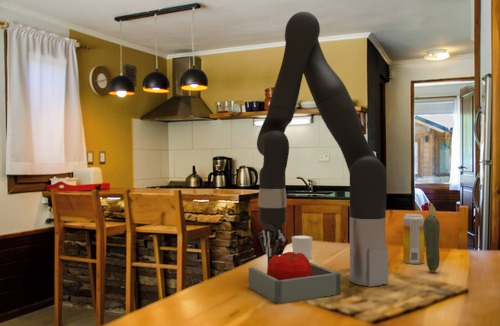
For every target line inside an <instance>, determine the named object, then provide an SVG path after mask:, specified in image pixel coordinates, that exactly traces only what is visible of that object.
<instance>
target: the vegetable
mask: <svg viewBox="0 0 500 326" xmlns="http://www.w3.org/2000/svg"><path fill="white" fill-rule="evenodd" d="M436 215H437V210H436V207H435V206H434V204H433V203H431V202H429V203H428V216H426V218H424V224H423V229H424V244H425V257H426V265H427V268H428V271H430V272H431V273H433V272H434V273H435V272H436V271H438V268H439V267H440V261H441V259H440V256H441V255H440V230H441V229H440V228H441V226H440V221H439V219H438V218H437V217H436Z"/></svg>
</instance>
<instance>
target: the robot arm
mask: <svg viewBox="0 0 500 326" xmlns="http://www.w3.org/2000/svg"><path fill="white" fill-rule="evenodd" d="M320 29H321V26H320V22H319V21H318V18H317V17H316V16H315V15H314V14H312V13H311V12H309V11H299V12H296V13H294V14H293V15H292V16H291V17H290V18H289V19H288V21H287V22H286V26H285V31H284V42H285V44H284V46H285V47H284V52H283V57H282V62H281V65H280V69H279V72H278V75H277V78H276V81H275V84H274V87H273V90H272V94H271V98H270V101H269V105H268V108H267V114H266V116H265V118H264V121H263V123H262V126H261V127H260V130H259V132H258V135H257V139H256V147H257V151H258V153H260V154H261V156H263V163H262V164H263V165H262V167H261V168H260V170H259V179H258V180H259V185H258V186H259V190H258V197H257V198H258V199H257V201H258V203H257V204H258V216H257V217H258V218H257V220H258V223H259V224H261V225H262V226H261V227H262V231H259V232H257V236H258V240H259V242H260V245H261V249H262V251H263V253H265V254H266V256H267V264H268V263H269V261H270V259H271V258H272V257H273V256H274V255H278V256H280V255H282V254H283V253H284V252H285V251H284V250H285V249H286V246H287V245H288V242H289V238H288V237H285V236H284V235H283V233H284V229H283V225H284V224H286V223H287V192H286V191H287V190H286V170H287V165H288V159H289V155H290V143H289V139H288V136H287V135H286V133H285V132H286V129H287V127H288V126H289V124H291V123H292V121H293V118H294V116H295V115H294V114H295V111H296V108H297V104H298V99H299V95H300V92H301V91H300V89H301V87H302V86H301V85H302V81H303V76H304V79H305V82H306V84H307V86H308V90H309V91H310V95H311V96H312V100H313V101H314V103H315V106H316V108H317V111H318V112H319V115H320V117H321V119H322V121H323V122H324V124H325V126H326V127H327V129H328V131H329V132H330V134H331V136H332V137H333V140H335V142H336V143H337V146H338V147H339V148H340V150H341V153H342V156H343V158H344V161H345V164H346V167H347V170H348V173H349V281H350V282H351V283H352V284H355V285H359V286H366V287H368V288H369V287H370V288H372V287H376V286H377V287H378V286H383V284H385V285H388V284H389V249H388V247H386V215H387V213H386V211H387V170H386V167H385V166H384V164H383V163H382V161H380V160H379V159H378V158H377V156H376V154H375V153H374V151H373V149H372V148H371V146H370V144H369V143H368V140H367V138H366V136H365V134H364V131H363V128H362V124H361V120H360V117H359V114H358V112H357V110H356V106H355V104H354V101H353V99H352V97H351V95H350V93H349V91H348V89H347V86H346V85H345V84H344V82H343V81H342V79H341V78H340V76H339V75H338V74H337V73H336V72H335V71H334V70H333V69H332V67H331V65H330V64H329V63H328V62H327V59H326V56H325V55H324V52H323V50H322V47H321V44H320V42H319V37H320V32H321V30H320Z"/></svg>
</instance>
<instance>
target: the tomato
mask: <svg viewBox="0 0 500 326" xmlns="http://www.w3.org/2000/svg"><path fill="white" fill-rule="evenodd" d="M310 263H311V262H310V259H307V258H306V256H305V255H304V254H302V253H296V254H295V253H294V252H293V251H288V252H283V253H282V255H279V256H278V255H274V256H273V257H272V258H271V259H270V261H269V263H268V262H267V269H266V274H267V275H269V276H271V277H274V278H276V279H278V280H286V279H293V278H301V277H308V276H312V268H311V265H310Z"/></svg>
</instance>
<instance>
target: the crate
mask: <svg viewBox="0 0 500 326" xmlns="http://www.w3.org/2000/svg"><path fill="white" fill-rule="evenodd" d="M310 265H311V268H312V276H308V277H301V278H293V279H286V280H278V279H276V278H274V277H271V276H269V275H267V273H266V272H263V271H261V270H259V269H257V268H254V267H249V268H248V288H249V289H250V290H252V291H254V292H256V293H258V294H259V295H261V296H263V297H265V298H266V299H267V300H269V301H271V302H273V303H274V304H277V305H281V304H286V303H293V302H299V301H300V302H302V301H307V300H312V299H318V298H325V297H324V296H327V297H331V295H333V296H337V295H336V294H339V295H341V273H339V272H336V271H334V270H331V269H329V268H326V267H324V266H320V265H318V264H316V263H312V262H310Z"/></svg>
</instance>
